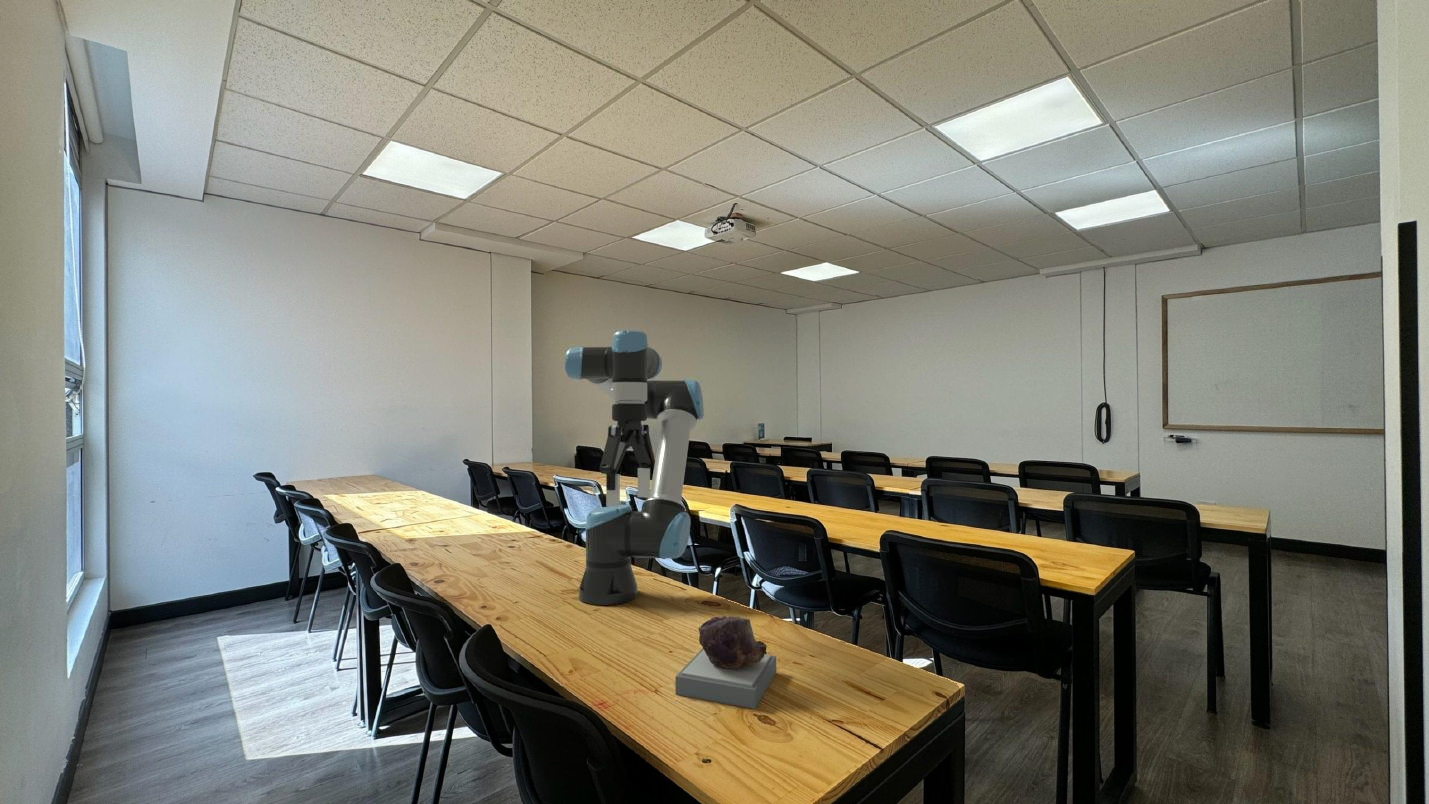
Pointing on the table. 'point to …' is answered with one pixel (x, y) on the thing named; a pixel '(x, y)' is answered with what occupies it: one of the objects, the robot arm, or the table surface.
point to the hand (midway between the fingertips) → (629, 501)
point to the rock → (730, 642)
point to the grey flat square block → (726, 681)
